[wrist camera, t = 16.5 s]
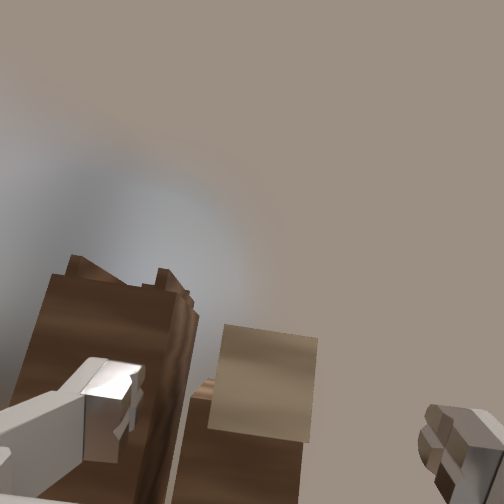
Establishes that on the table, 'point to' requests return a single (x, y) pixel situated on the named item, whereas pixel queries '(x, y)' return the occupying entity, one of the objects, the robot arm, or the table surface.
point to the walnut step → (233, 462)
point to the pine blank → (264, 384)
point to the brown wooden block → (122, 349)
